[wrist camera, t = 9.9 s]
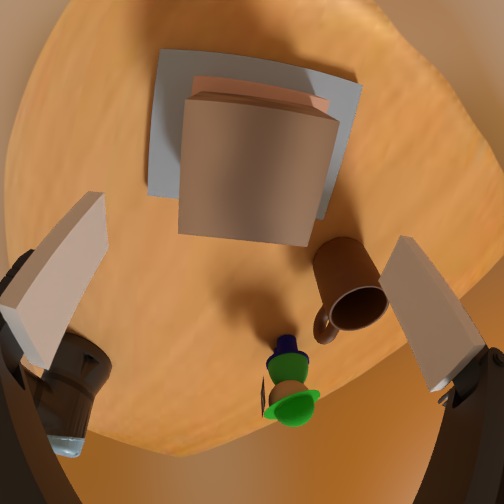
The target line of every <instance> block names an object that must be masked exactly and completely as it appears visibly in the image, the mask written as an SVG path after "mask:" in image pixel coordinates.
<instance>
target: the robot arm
mask: <svg viewBox="0 0 504 504" xmlns="http://www.w3.org/2000/svg"><path fill="white" fill-rule="evenodd" d="M108 249H109V246H108V237H107V226H106V214H105V199H104V193H102V192H90V191H88V192H87V193H86V194H85V195H84V196H83V197H82V198H81V199H80V200H79V201H78V202H77V203H76V204H75V205H74V206H73V208H72V209H71V210H70V211H69V212H68V213H67V214H66V215H65V216H64V217H63V218H62V219H61V220H60V222H59V223H58V224H57V225H56V226H55V227H54V228H53V229H52V231H51V232H50V233H49V234H48V235H47V236H46V237H45V239H44V240H43V241H42V242H41V243H40V245H39V246H38V247H37V248H36V249H35V250H32V249H30V250H29V251H27V252H26V253H24V254H23V255H22V256H20V257H19V258H18V259H17V261H16V262H15V263H14V265H13V266H12V269H10V270H9V271H8V272H7V274H6V277H4V278H3V279H2V280H1V282H0V504H82V502H81V501H80V499H79V497H78V496H77V494H76V492H75V491H74V489H73V487H72V486H71V484H70V482H69V480H68V478H67V477H66V475H65V473H64V471H63V469H62V467H61V465H60V463H59V461H58V459H57V457H56V455H55V454H58V455H62V456H66V457H77V456H79V455H80V453H81V450H82V447H83V443H84V441H85V435H86V431H87V426H88V422H89V418H90V414H91V410H92V406H93V402H94V398H95V396H96V394H97V393H98V392H99V390H100V389H101V388H102V386H103V385H104V384H105V382H106V381H107V380H108V378H109V376H110V372H111V369H112V364H111V361H110V360H109V358H108V357H107V355H106V354H105V353H104V352H103V351H102V350H100V349H99V348H98V347H97V346H95V345H94V344H92V343H91V342H89V341H87V340H85V339H83V338H81V337H79V336H77V335H74V334H70V333H66V332H65V331H66V328H67V326H68V324H69V322H70V320H71V318H72V316H73V314H74V312H75V310H76V308H77V306H78V304H79V302H80V300H81V298H82V296H83V294H84V292H85V290H86V288H87V286H88V284H89V282H90V280H91V279H92V277H93V275H94V273H95V271H96V270H97V268H98V266H99V264H100V262H101V261H102V259H103V257H104V255H105V254H106V252H107V250H108ZM378 281H379V283H380V285H381V287H382V289H383V291H384V293H385V295H386V297H387V299H388V300H389V302H390V304H391V306H392V308H393V310H394V313H395V315H396V317H397V319H398V321H399V323H400V325H401V327H402V329H403V331H404V333H405V336H406V338H407V340H408V342H409V344H410V346H411V349H412V351H413V353H414V356H415V358H416V360H417V362H418V365H419V367H420V369H421V372H422V374H423V377H424V379H425V381H426V384H427V387H428V389H429V392H433V391H437V390H442V389H443V388H444V387H446V386H447V385H448V384H449V383H450V382H451V381H453V383H454V386H453V387H452V388H451V389H450V390H449V391H448V392H447V393H446V394H444V395H443V396H442V397H441V398H440V399H439V401H438V403H439V404H440V403H441V402H442V401H443V400H444V399H447V401H446V402H445V403H444V404H443V406H444V407H446V408H445V412H444V416H443V420H442V423H441V427H440V431H439V434H438V437H437V441H436V444H435V447H434V450H433V453H432V456H431V459H430V462H429V465H428V468H427V470H426V473H425V475H424V478H423V480H422V483H421V486H420V488H419V490H418V493H417V495H416V497H415V499H414V502H413V504H504V354H503V353H502V352H501V351H500V350H499V349H497V348H494V347H492V348H490V349H489V348H488V347H487V345H486V343H485V341H484V340H483V338H482V336H481V334H480V333H479V331H478V329H477V328H476V326H475V324H474V323H473V321H472V320H471V318H470V316H469V315H468V313H467V312H466V310H465V309H464V307H463V306H462V304H461V303H460V302H459V300H458V298H457V297H456V296H455V294H454V293H453V291H452V290H451V288H450V287H449V285H448V284H447V283H446V281H445V280H444V278H443V277H442V276H441V274H440V273H439V271H438V270H437V269H436V267H435V266H434V265H433V263H432V262H431V261H430V259H429V258H428V257H427V255H426V254H425V253H424V252H423V250H422V249H421V248H420V246H419V245H418V244H417V243H416V241H415V240H414V239H413V238H411V237H407V236H402V235H400V238H399V240H398V242H397V244H396V246H395V248H394V250H393V252H392V254H391V257H390V259H389V261H388V263H387V265H386V267H385V269H384V271H383V272H382V274H381V276H380V278H379V280H378ZM23 354H24V355H25V356H26V358H27V359H28V361H29V362H30V364H32V365H35V366H38V367H41V368H44V372H43V374H42V377H41V378H39V377H38V376H36V375H35V374H34V373H32V372H31V371H30V370H28V369H27V368H26V367H24V366H23V365H22V364H21V362H20V360H21V358H22V356H23Z"/></svg>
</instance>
